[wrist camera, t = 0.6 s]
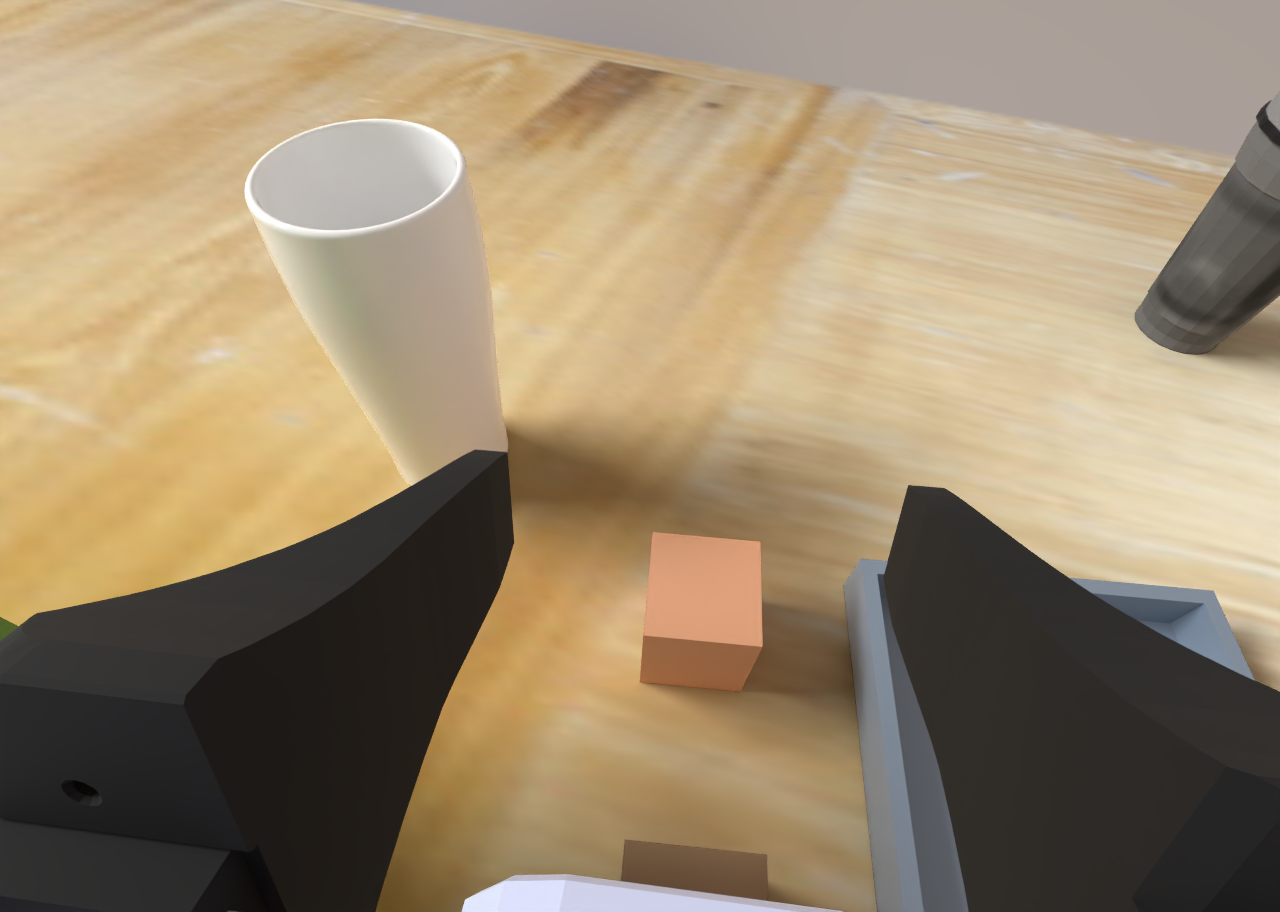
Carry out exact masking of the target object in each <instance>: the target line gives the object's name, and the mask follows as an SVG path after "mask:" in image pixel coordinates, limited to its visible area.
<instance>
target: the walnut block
mask: <svg viewBox="0 0 1280 912" xmlns="http://www.w3.org/2000/svg"><path fill="white" fill-rule="evenodd" d="M621 881H623V882H630V883H638V884H645V885H653V886H660V887H667V888H675V889H682V890H690V891H697V892H704V893H712V894H719V895H727V896H734V897H742V898H749V899H756V900H764V901H768V881H767V855H765V854H755V853H746V852H736V851H727V850H717V849H708V848H699V847H689V846H680V845H670V844H661V843H651V842H642V841H633V840H625V844H624V855H623V866H622V877H621Z"/></svg>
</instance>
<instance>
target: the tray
mask: <svg viewBox="0 0 1280 912" xmlns="http://www.w3.org/2000/svg"><path fill="white" fill-rule="evenodd" d="M887 562H888V561H878V560H867V559H860V560H859V562H858V564H857V565H856V567H855V568H854V570H853V571H852V573H851V575H850V576H849V578H848V579H847V581H846V583H845V584H844V594H845V604H846V614H847V623H848V633H849V643H850V652H851V662H852V672H853V681H854V691H855V701H856V710H857V720H858V730H859V739H860V749H861V759H862V768H863V778H864V788H865V797H866V807H867V817H868V826H869V836H870V846H871V855H872V865H873V875H874V884H875V894H876V904H877V912H969V911H968V905H967V899H966V894H965V888H964V883H963V878H962V873H961V868H960V863H959V858H958V853H957V848H956V843H955V838H954V833H953V828H952V823H951V819H950V814H949V810H948V806H947V801H946V797H945V792H944V788H943V783H942V779H941V775H940V770H939V766H938V762H937V759H936V756H935V752H934V749H933V745H932V742H931V739H930V736H929V733H928V730H927V727H926V724H925V721H924V718H923V715H922V713H921V710H920V707H919V704H918V701H917V698H916V695H915V692H914V689H913V686H912V683H911V681H910V678H909V675H908V672H907V669H906V666H905V663H904V660H903V657H902V654H901V651H900V648H899V645H898V642H897V639H896V636H895V633H894V630H893V627H892V622H891V617H890V612H889V607H888V601H887V595H886V589H885V583H884V573H885V569H886V566H887ZM1070 579H1071V580H1073V581H1074V582H1076V583H1077V584H1079V585H1080V586H1082V587H1083V588H1085V589H1086V590H1088V591H1089V592H1091V593H1092V594H1094V595H1095V596H1097V597H1099V598H1100V599H1102V600H1104V601H1105V602H1107V603H1108V604H1110V605H1112V606H1113V607H1115V608H1117V609H1118V610H1120V611H1122V612H1124V613H1125V614H1127V615H1129V616H1131V617H1132V618H1134V619H1136V620H1137V621H1139V622H1141V623H1143V624H1144V625H1146V626H1148V627H1150V628H1151V629H1153V630H1155V631H1157V632H1158V633H1160V634H1162V635H1164V636H1166V637H1168V638H1170V639H1172V640H1173V641H1175V642H1177V643H1179V644H1181V645H1183V646H1185V647H1187V648H1189V649H1191V650H1193V651H1195V652H1197V653H1199V654H1201V655H1203V656H1205V657H1207V658H1209V659H1211V660H1213V661H1215V662H1217V663H1219V664H1221V665H1223V666H1225V667H1227V668H1229V669H1231V670H1233V671H1235V672H1237V673H1239V674H1242V675H1244V676H1246V677H1248V678H1250V679H1252V680H1255V679H1254V677H1253V675H1252V673H1251V671H1250V669H1249V666H1248V664H1247V662H1246V660H1245V658H1244V656H1243V653H1242V651H1241V649H1240V647H1239V645H1238V643H1237V641H1236V638H1235V636H1234V634H1233V632H1232V630H1231V628H1230V626H1229V623H1228V621H1227V619H1226V617H1225V615H1224V613H1223V610H1222V608H1221V606H1220V604H1219V602H1218V600H1217V598H1216V595H1215V593H1214V591H1210V590H1199V589H1188V588H1177V587H1166V586H1155V585H1144V584H1133V583H1122V582H1110V581H1099V580H1088V579H1077V578H1070Z"/></svg>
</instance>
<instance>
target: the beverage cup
mask: <svg viewBox="0 0 1280 912" xmlns="http://www.w3.org/2000/svg"><path fill="white" fill-rule="evenodd" d="M1256 119H1257V122H1256V123H1255V124H1254V126H1253V127H1252V129H1251V130H1250V132H1249V134H1248V135H1247V137H1246V139H1245V141H1244V143H1243V145H1242V146H1241V148H1240V150H1239V152H1238V154H1237V156H1236V158H1235V160H1236V162H1235V163H1234V165H1233V166H1232V168H1231V169H1230V171H1229V172H1228V174H1227V175H1226V177H1225V178H1224V179H1223V181H1222V182H1221V184H1220V185H1219V187H1218V188H1217V190H1216V191H1215V193H1214V194H1213V196H1212V197H1211V199H1210V200H1209V202H1208V203H1207V205H1206V206H1205V208H1204V209H1203V211H1202V212H1201V213H1200V215H1199V216H1198V218H1197V219H1196V221H1195V222H1194V224H1193V225H1192V227H1191V228H1190V230H1189V231H1188V233H1187V234H1186V236H1185V237H1184V239H1183V240H1182V242H1181V243H1180V245H1179V246H1178V248H1177V249H1176V250H1175V252H1174V253H1173V255H1172V256H1171V258H1170V259H1169V261H1168V262H1167V264H1166V265H1165V267H1164V268H1163V270H1162V271H1161V273H1160V274H1159V276H1158V277H1157V279H1156V280H1155V282H1154V283H1153V284H1152V286H1151V288H1150V289H1149V291H1148V294H1147V296H1146V297H1145V299H1144V301H1143V302H1142V304H1141V305H1140V306H1139V307H1138V309H1137V311H1136V312H1135V321H1136V323H1137V325H1138V326H1139V328H1140V329H1141V330H1142V331H1143V332H1144V333H1145V334H1146V336H1147V337H1149V338H1150V339H1152V340H1153V341H1155V342H1156V343H1158V344H1160V345H1162V346H1164V347H1166V348H1169V349H1171V350H1174V351H1178V352H1182V353H1189V354H1201V353H1207V352H1209V351H1210V350H1212V349H1214V348H1215V347H1216V346H1217V345H1218V344H1219V343H1220V342H1221V341H1223V340H1224V339H1226V338H1227V337H1228V336H1229V335H1231V334H1232V333H1234V332H1236V331H1237V330H1239V329H1240V328H1241V327H1242V326H1244V325H1245V324H1246V323H1247V322H1248V321H1250V320H1251V319H1252V318H1253V317H1254V316H1256V315H1257V314H1258V313H1259V312H1260V311H1262V310H1263V309H1264V308H1265V307H1266V306H1268V305H1269V304H1270V303H1271V302H1272V301H1274V300H1275V299H1276V298H1277V297H1278V296H1280V92H1279V93H1278V94H1277V95H1276V96H1275V98H1274V99H1273V100H1271V101H1269V102H1268V103H1267V104H1265V105H1264V106H1263V107H1262V108H1261V109H1260V111H1259V113H1258V114H1257V116H1256Z"/></svg>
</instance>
